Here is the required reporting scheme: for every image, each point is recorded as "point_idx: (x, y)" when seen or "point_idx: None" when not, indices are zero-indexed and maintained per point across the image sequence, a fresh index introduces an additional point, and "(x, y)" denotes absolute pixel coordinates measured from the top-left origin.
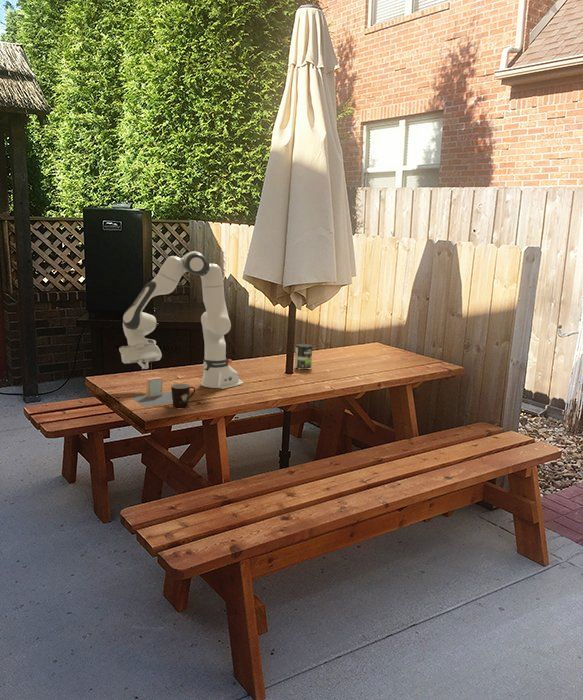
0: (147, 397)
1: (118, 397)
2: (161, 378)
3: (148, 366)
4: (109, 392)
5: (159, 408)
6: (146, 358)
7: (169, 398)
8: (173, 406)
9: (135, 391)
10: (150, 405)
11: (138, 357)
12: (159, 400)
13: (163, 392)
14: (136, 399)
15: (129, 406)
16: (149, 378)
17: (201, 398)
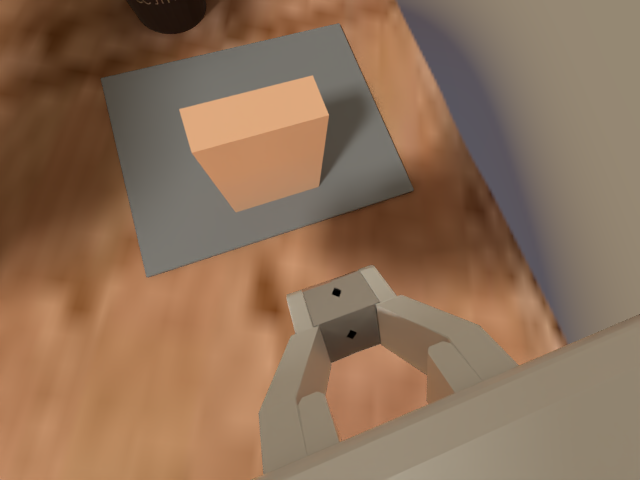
0: None
1: (473, 208)
2: (188, 108)
3: (290, 293)
4: (537, 323)
5: (275, 3)
6: (324, 446)
7: None
8: (205, 2)
9: None
10: (313, 37)
11: (595, 386)
12: None
13: (205, 257)
14: (377, 142)
15: (410, 54)
16: (302, 115)
17: (8, 112)
